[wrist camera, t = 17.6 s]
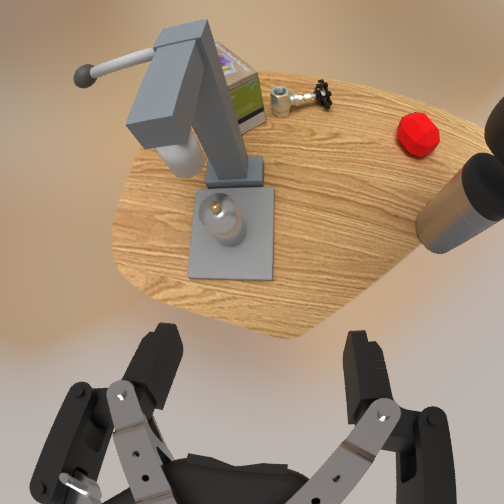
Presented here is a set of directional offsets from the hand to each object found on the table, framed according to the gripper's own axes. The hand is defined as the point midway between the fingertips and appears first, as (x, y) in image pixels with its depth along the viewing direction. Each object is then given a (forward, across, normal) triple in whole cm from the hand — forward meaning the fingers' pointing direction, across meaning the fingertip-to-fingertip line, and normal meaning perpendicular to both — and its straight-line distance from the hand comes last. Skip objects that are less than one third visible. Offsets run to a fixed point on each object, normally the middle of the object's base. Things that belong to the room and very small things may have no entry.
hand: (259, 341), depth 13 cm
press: (+36, +13, +10) cm, 40 cm away
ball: (+49, -27, -2) cm, 56 cm away
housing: (+33, +9, +11) cm, 36 cm away
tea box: (+54, +12, -7) cm, 56 cm away
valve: (+54, -4, -8) cm, 55 cm away
